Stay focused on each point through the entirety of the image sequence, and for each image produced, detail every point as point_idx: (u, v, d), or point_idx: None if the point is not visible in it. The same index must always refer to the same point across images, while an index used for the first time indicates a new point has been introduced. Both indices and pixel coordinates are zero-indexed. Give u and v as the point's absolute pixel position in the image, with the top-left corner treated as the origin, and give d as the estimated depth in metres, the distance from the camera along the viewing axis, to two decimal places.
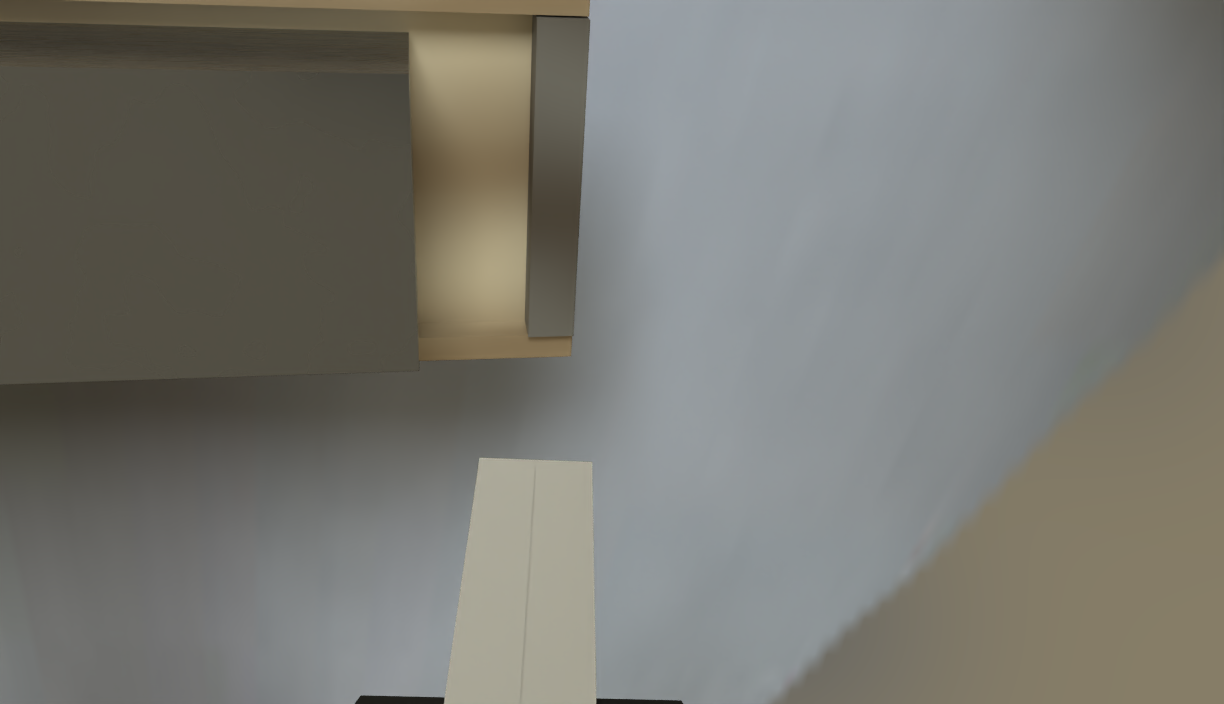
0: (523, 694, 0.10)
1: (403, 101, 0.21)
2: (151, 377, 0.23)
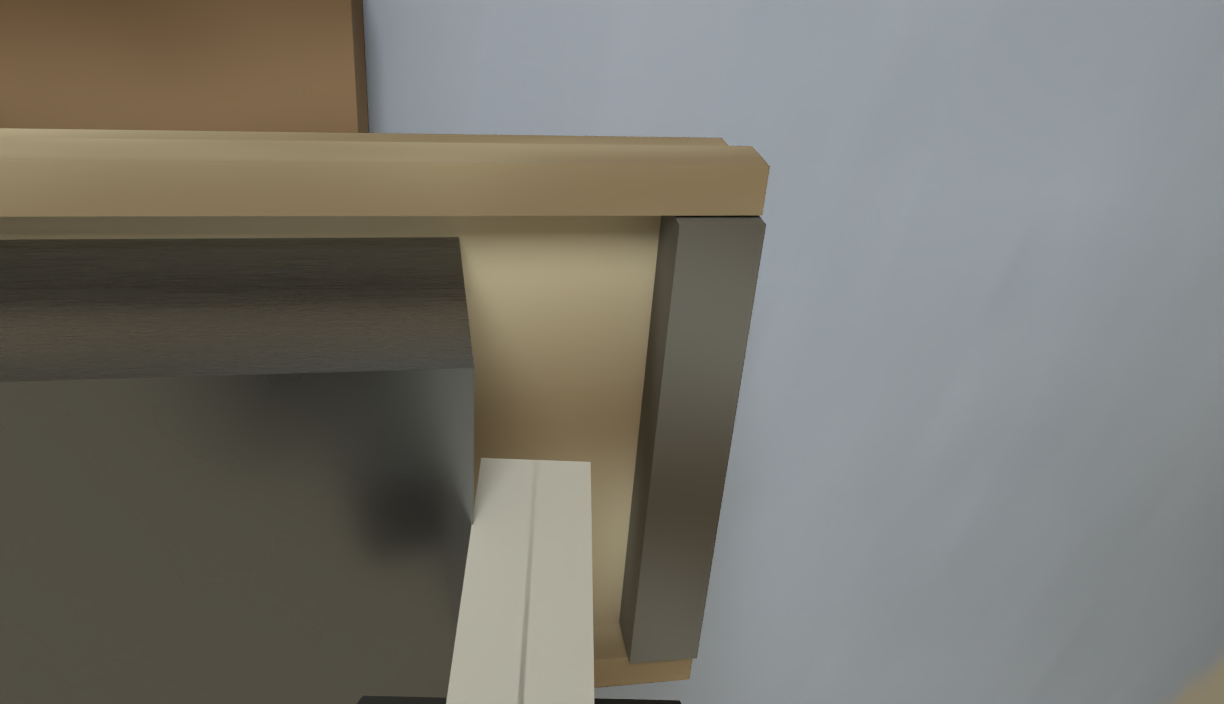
0: (525, 694, 0.10)
1: (462, 412, 0.11)
2: None
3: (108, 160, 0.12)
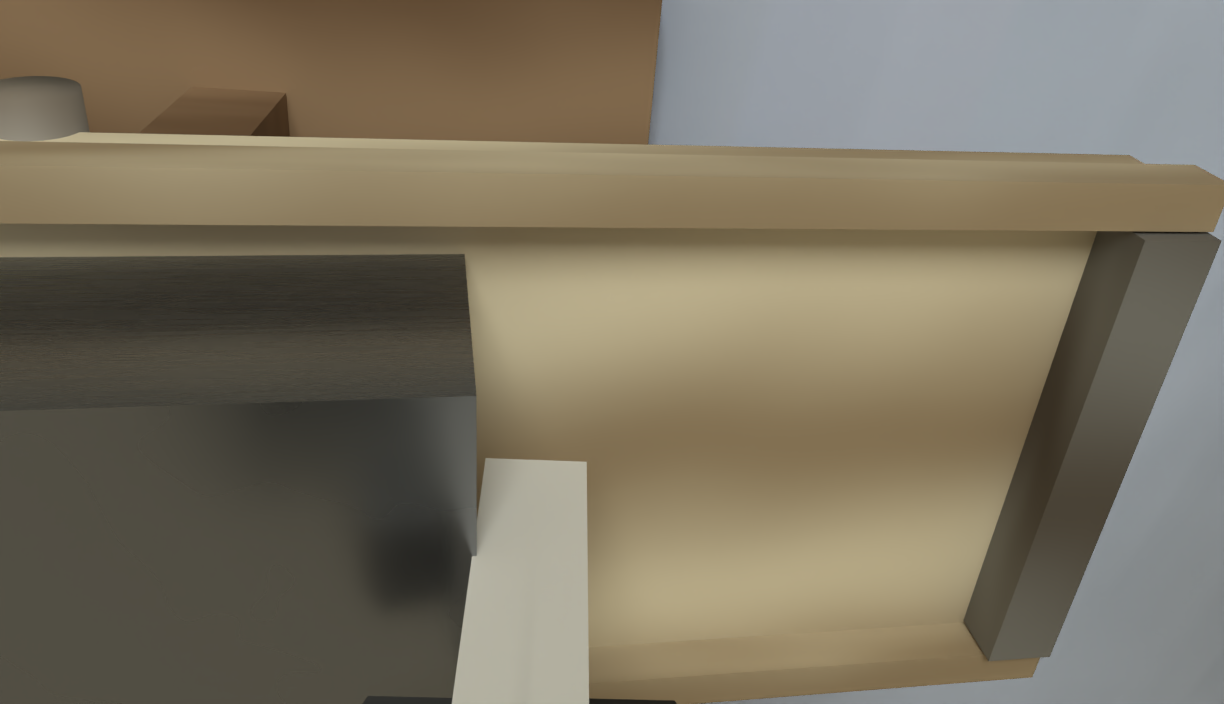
0: (531, 695, 0.10)
1: (464, 441, 0.11)
2: None
3: (654, 175, 0.13)
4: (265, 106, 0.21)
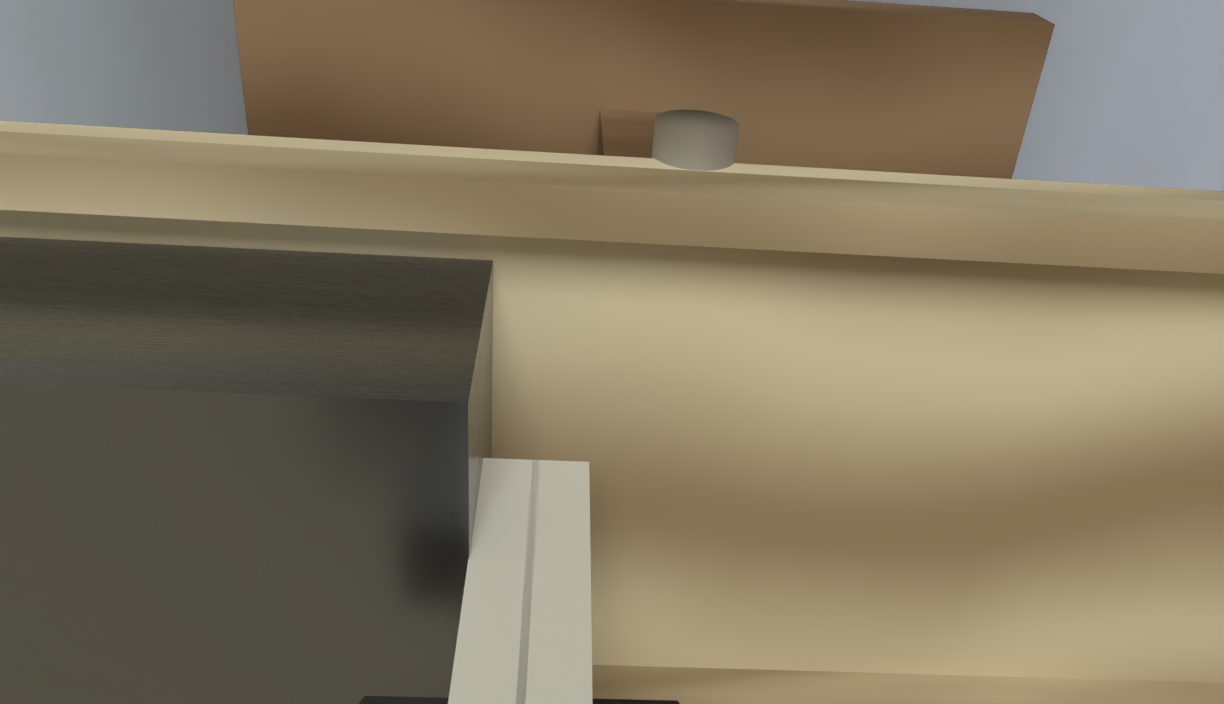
0: (528, 694, 0.10)
1: (456, 447, 0.11)
2: None
3: None
4: None
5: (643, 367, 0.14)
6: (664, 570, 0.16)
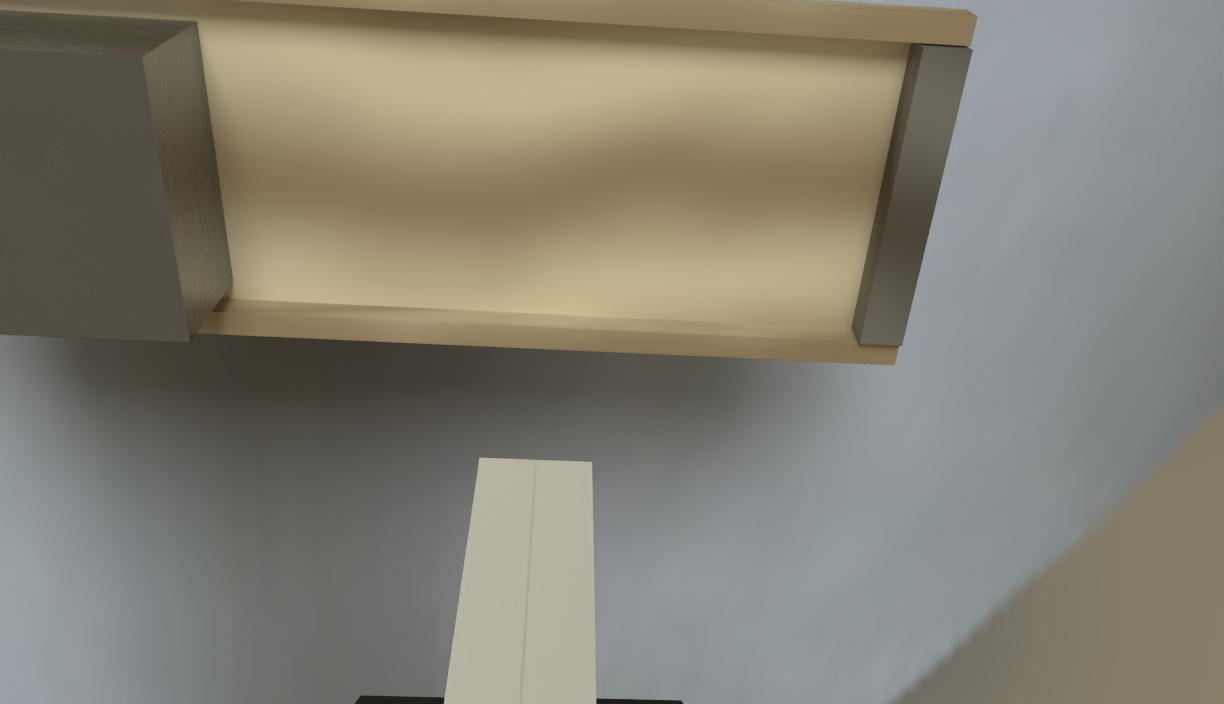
0: (524, 694, 0.10)
1: (140, 82, 0.22)
2: None
3: None
4: None
5: (293, 90, 0.25)
6: (331, 231, 0.27)
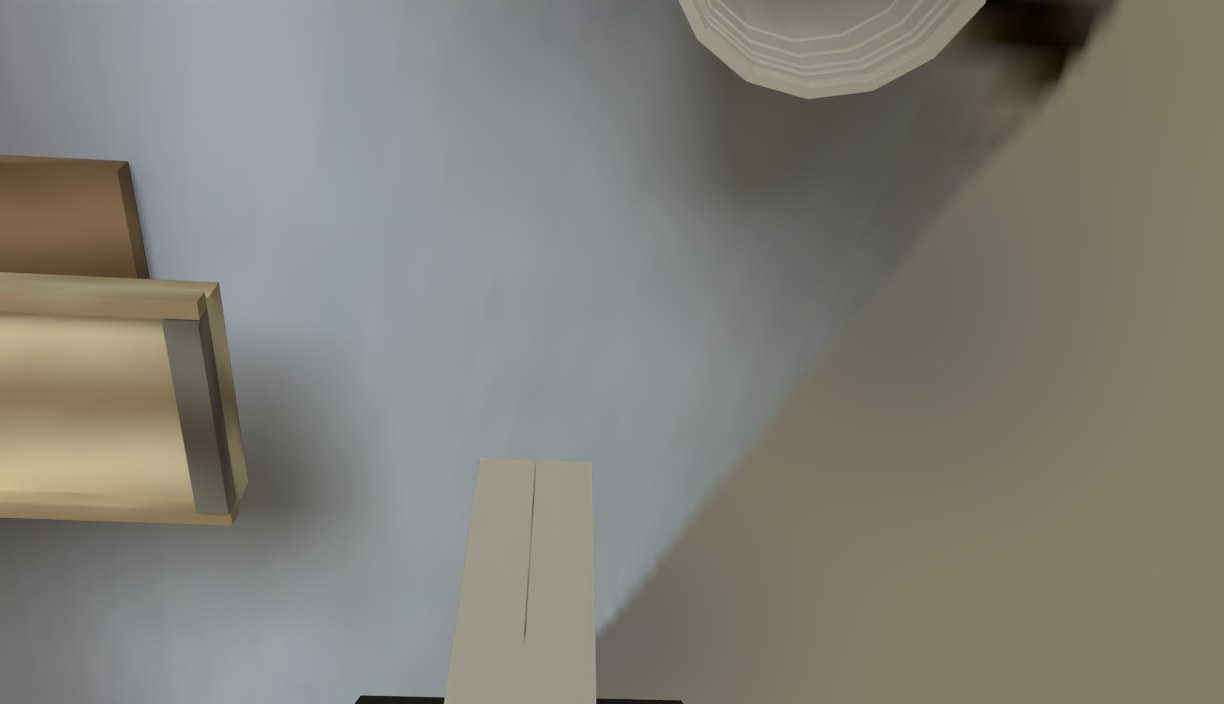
0: (524, 694, 0.10)
1: None
2: None
3: None
4: None
5: None
6: None
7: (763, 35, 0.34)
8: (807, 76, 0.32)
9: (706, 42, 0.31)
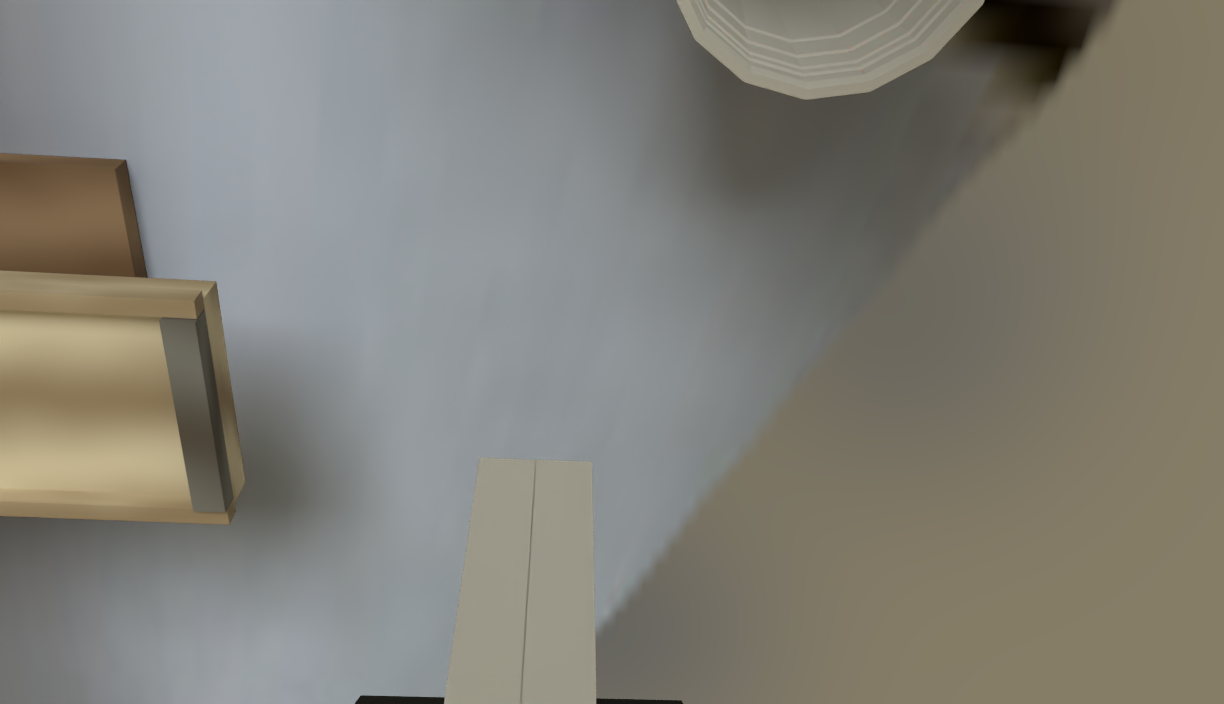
0: (524, 694, 0.10)
1: None
2: None
3: None
4: None
5: None
6: None
7: (761, 36, 0.34)
8: (805, 77, 0.32)
9: (704, 42, 0.31)
